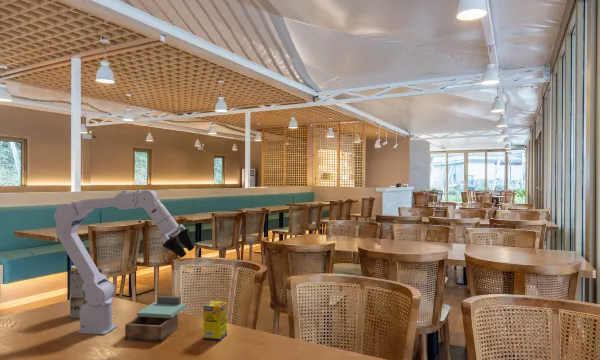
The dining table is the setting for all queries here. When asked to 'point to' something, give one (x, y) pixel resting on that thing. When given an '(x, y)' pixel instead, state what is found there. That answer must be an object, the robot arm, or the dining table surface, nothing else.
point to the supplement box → (215, 321)
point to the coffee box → (77, 294)
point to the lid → (163, 307)
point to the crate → (150, 329)
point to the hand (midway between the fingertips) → (188, 252)
